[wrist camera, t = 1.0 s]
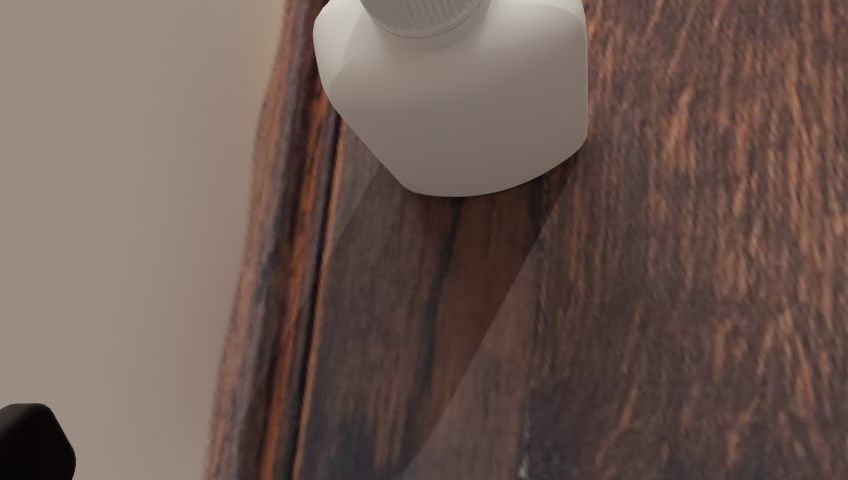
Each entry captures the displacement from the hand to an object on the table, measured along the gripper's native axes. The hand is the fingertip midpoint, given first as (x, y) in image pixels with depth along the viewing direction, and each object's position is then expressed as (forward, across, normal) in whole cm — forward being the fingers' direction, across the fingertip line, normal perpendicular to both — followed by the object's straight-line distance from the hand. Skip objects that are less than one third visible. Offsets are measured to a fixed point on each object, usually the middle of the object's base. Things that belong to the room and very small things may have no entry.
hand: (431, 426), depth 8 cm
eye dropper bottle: (+15, +1, +4) cm, 15 cm away
